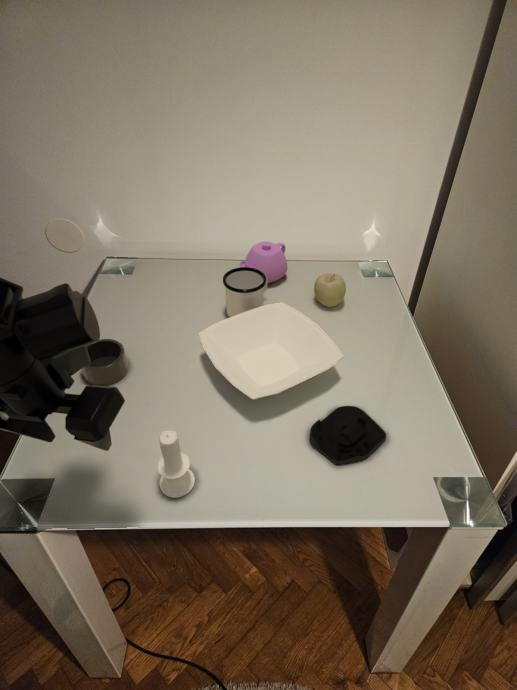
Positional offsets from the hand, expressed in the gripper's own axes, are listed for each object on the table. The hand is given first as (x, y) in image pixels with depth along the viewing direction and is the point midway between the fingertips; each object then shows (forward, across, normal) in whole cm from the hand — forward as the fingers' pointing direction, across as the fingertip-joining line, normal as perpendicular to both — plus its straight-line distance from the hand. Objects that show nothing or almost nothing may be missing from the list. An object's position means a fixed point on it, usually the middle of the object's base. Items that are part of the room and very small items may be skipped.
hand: (80, 443), depth 58 cm
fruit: (+23, -22, -56) cm, 65 cm away
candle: (+14, -8, -3) cm, 17 cm away
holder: (+12, +15, -22) cm, 29 cm away
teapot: (+21, -5, -62) cm, 66 cm away
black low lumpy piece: (+21, -32, -19) cm, 42 cm away
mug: (+19, -6, -48) cm, 52 cm away
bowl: (+19, -15, -32) cm, 40 cm away
